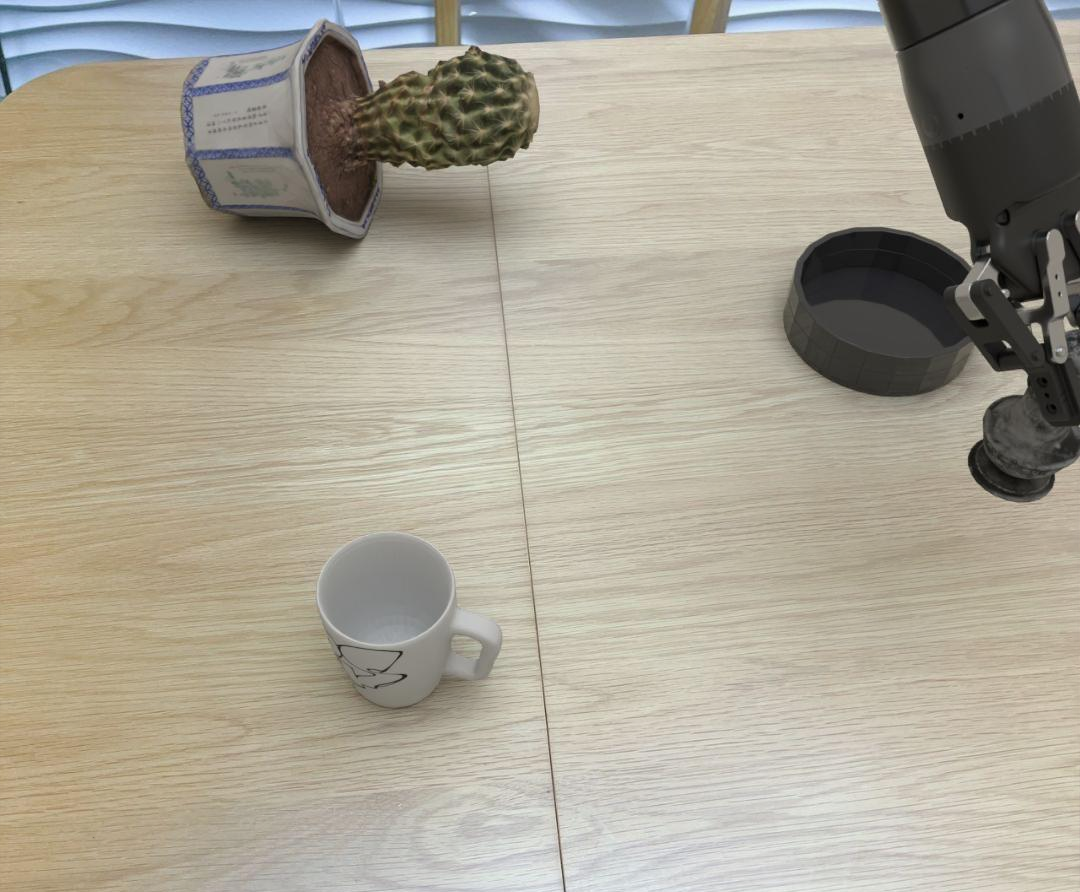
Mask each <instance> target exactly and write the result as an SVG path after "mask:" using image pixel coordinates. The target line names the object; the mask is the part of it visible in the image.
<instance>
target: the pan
mask: <svg viewBox="0 0 1080 892" xmlns="http://www.w3.org/2000/svg"><path fill="white" fill-rule="evenodd" d="M972 267H973V266H972V265H970V264H969V263H968V262H967V260H966V259H964V257H962V256H961V255H959V254H957V253H956V252H954V251H953V250H951V249H950V248H948V247H947V246H945V245H943V244H942V243H941V242H938V241H935V240H933V239H931V238H929V237H925V236H923V235H921V234H918V233H916V232H912V231H908V230H903V229H902V230H901V229H896V228H892V227H886V226H853V227H849V228H846V229H841V230H837V231H833V232H829V233H827V234H825V235H823V236H821V237H820V238H818V239H816V240H815V241H813V242H811V243H809V245H808V246H807V247H806V248H805V250H803V252H802V253H801V255H800V256H799V257H798V258H797V260H796V262H795V266H794V269H793V272H792V277H791V280H790V284H789V287H788V290H787V294H786V299H785V303H784V308H783V313H782V315H783V316H782V320H783V328H784V331H785V334H786V337H787V339H788V341H789V343H790V345H791V347H792V348H793V350H794V351H795V352H796V354H797V355H798V356H799V357H800V358H801V359H802V360H803V361H804V363H806V364H807V365H808V366H810V367H811V368H812V369H813V370H814V371H815V372H817V373H819V374H820V375H821V376H823V377H824V378H827V379H828V380H831V381H832V382H834V383H836V384H839V385H840V386H842V387H845V388H849V389H851V390H854V391H857V392H862V393H865V394H869V395H875V396H882V397H910V396H911V397H912V396H916V395H917V396H918V395H922V394H923V395H924V394H926V393H930V392H933V391H936V390H937V389H941V388H943V387H944V386H946V385H948V384H949V383H952V381H953V380H955V378H956V377H959V375H960V374H961V373H962V371H963V370H964V369H965V367H966V365H967V364H968V362H969V360H970V358H971V357H972V354H973V353H974V351H975V348H977V347H976V346H975V344H974V343H973V342H972V340H971V339H970V338H969V336H968V335H967V334H966V332H965V331H964V330H963V329H962V327H961V326H960V325H959V323H958V322H957V321H956V319H955V318H954V317H953V315H952V314H951V313H950V311H949V310H948V309H947V307H946V306H945V304H944V301H943V294H944V291H945V289H946V288H948V287H951V286H956V285H960V284H962V283H963V282H964V280H965V278H966V277H967V275H968V274H969V272H970V271H971V269H972Z"/></svg>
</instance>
